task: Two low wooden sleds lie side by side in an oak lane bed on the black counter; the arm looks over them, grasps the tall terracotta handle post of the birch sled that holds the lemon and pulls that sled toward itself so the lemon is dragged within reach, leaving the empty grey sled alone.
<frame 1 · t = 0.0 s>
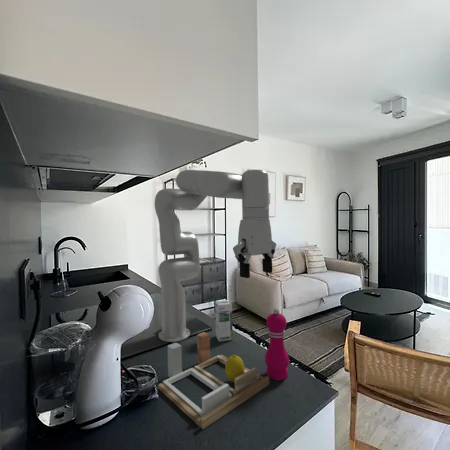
hand: (256, 274, 76), 31 cm above the worktop, tool pointing down, fingers open, 9 cm apart
birch sled: (222, 358, 81), point 5 cm above the worktop, slide at 0.0 cm
pepper mill: (277, 375, 80), on the worktop
grey sled: (192, 373, 73), point 5 cm above the worktop, slide at 0.0 cm
syrup box: (224, 338, 106), on the worktop
lane bed: (212, 385, 76), on the worktop
lemon: (235, 383, 77), resting in birch sled
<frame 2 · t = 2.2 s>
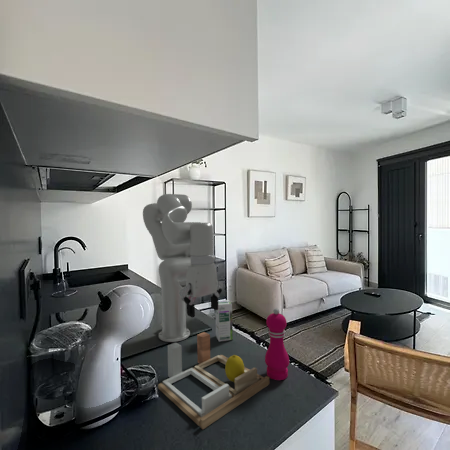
hand: (203, 312, 87), 17 cm above the worktop, tool pointing down, fingers open, 9 cm apart
nothing on the worktop moved.
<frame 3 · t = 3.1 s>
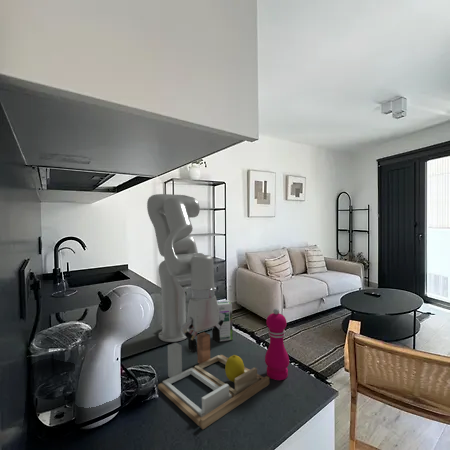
hand: (204, 346, 87), 6 cm above the worktop, tool pointing down, fingers open, 9 cm apart
nothing on the worktop moved.
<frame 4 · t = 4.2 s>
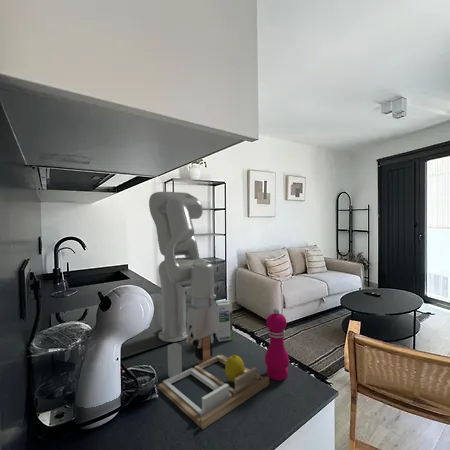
hand: (203, 356, 87), 2 cm above the worktop, tool pointing down, fingers closed on birch sled, 3 cm apart
birch sled: (222, 358, 81), point 5 cm above the worktop, slide at 0.0 cm, touching gripper
everything else where it was.
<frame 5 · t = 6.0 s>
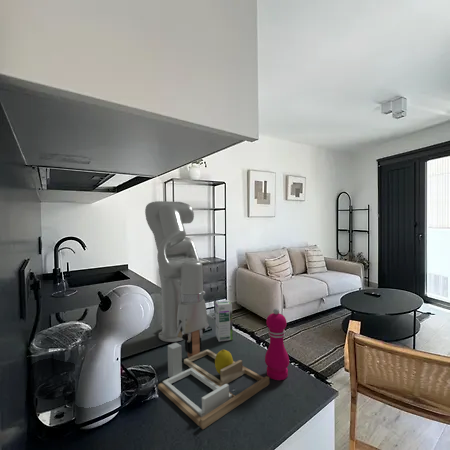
hand: (193, 349, 92), 2 cm above the worktop, tool pointing down, fingers closed on birch sled, 3 cm apart
birch sled: (209, 351, 85), point 5 cm above the worktop, slide at 5.8 cm, touching gripper, lemon
lemon: (224, 376, 80), resting in birch sled
everything else where it was.
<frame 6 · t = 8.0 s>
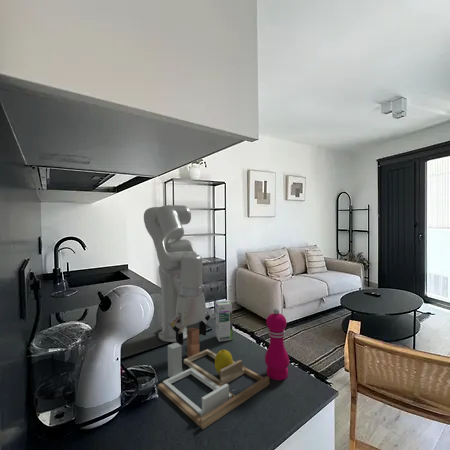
hand: (191, 338, 93), 6 cm above the worktop, tool pointing down, fingers open, 9 cm apart
birch sled: (209, 351, 85), point 5 cm above the worktop, slide at 5.9 cm, touching lemon
everything else where it was.
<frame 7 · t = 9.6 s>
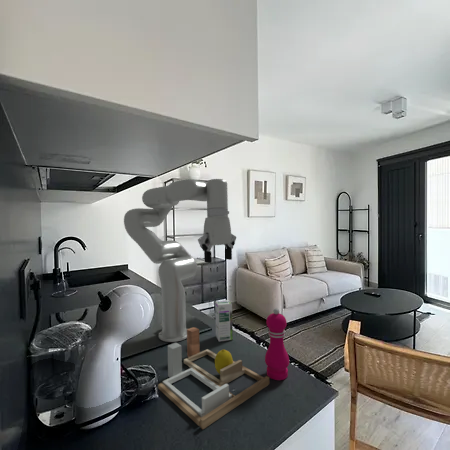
hand: (218, 260, 97), 32 cm above the worktop, tool pointing down, fingers open, 9 cm apart
nothing on the worktop moved.
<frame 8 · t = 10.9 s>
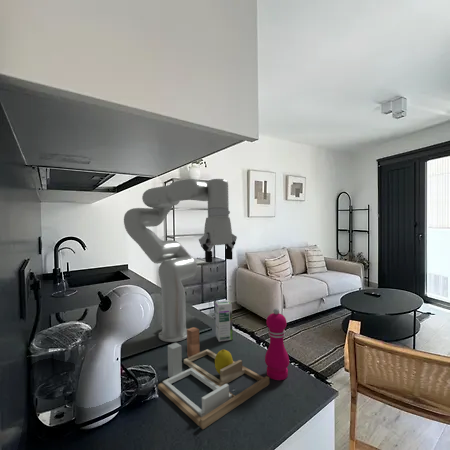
hand: (219, 260, 97), 32 cm above the worktop, tool pointing down, fingers open, 9 cm apart
nothing on the worktop moved.
at the end: birch sled slide at 5.9 cm; lemon inside the target area (3.2 cm from its centre), resting in birch sled; grey sled slide at 0.0 cm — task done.
